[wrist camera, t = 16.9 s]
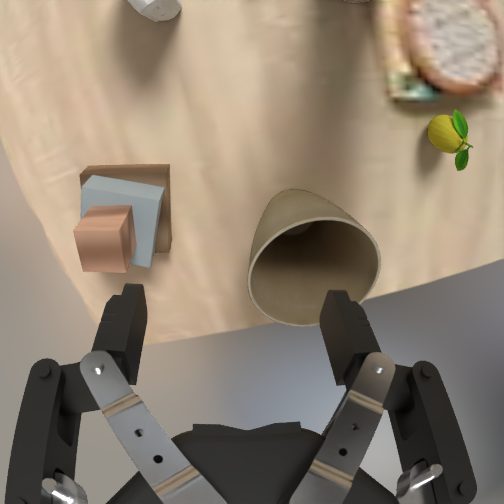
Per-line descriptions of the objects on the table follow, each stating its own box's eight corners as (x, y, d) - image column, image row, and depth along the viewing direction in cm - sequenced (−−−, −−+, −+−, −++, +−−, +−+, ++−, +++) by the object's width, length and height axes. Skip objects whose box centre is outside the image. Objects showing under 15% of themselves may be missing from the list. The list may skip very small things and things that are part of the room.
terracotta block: (90, 206, 36) (73, 230, 31) (132, 205, 37) (119, 230, 32) (97, 243, 39) (83, 271, 34) (136, 244, 40) (126, 272, 35)
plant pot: (306, 143, 42) (347, 189, 29) (353, 220, 49) (396, 284, 36) (218, 203, 46) (218, 271, 33) (275, 269, 53) (292, 343, 40)
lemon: (433, 155, 44) (470, 179, 36) (410, 133, 42) (449, 155, 33) (454, 123, 41) (495, 143, 33) (433, 100, 39) (475, 116, 31)
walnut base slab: (89, 164, 41) (79, 174, 38) (170, 163, 42) (165, 173, 39) (99, 236, 48) (91, 250, 44) (172, 238, 49) (168, 252, 46)
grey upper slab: (92, 174, 38) (81, 186, 35) (164, 187, 40) (159, 200, 37) (89, 238, 43) (81, 254, 40) (154, 251, 45) (150, 267, 42)
